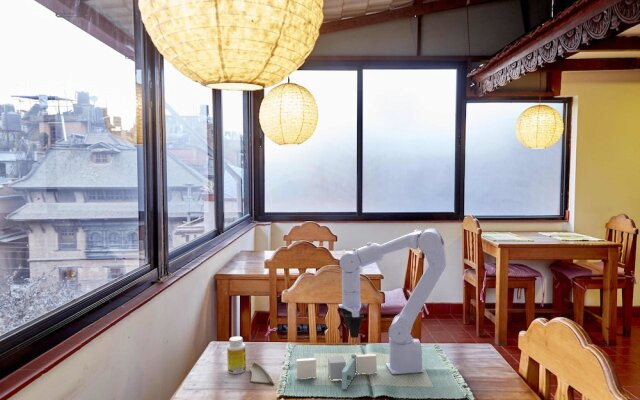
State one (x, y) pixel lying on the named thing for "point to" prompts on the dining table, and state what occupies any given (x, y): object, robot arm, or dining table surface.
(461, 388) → the dining table surface
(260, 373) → the ceramic fragment
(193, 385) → the dining table surface
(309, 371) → the frame
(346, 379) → the door
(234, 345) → the supplement bottle
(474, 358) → the dining table surface
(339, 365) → the pale grey block
